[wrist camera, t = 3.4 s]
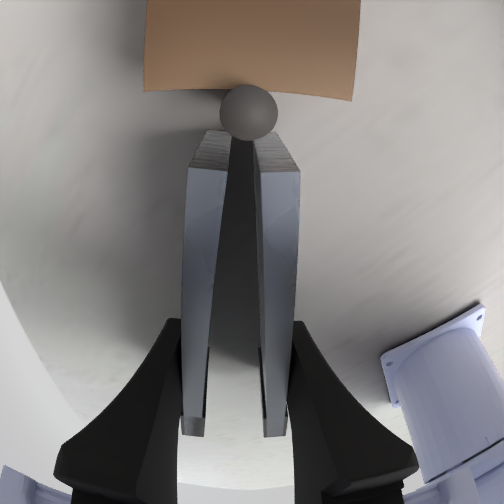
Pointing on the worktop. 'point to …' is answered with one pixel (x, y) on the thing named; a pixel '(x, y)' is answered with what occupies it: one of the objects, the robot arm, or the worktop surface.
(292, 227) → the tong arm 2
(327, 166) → the worktop surface
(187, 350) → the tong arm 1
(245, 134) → the block
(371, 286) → the worktop surface
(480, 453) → the robot arm
